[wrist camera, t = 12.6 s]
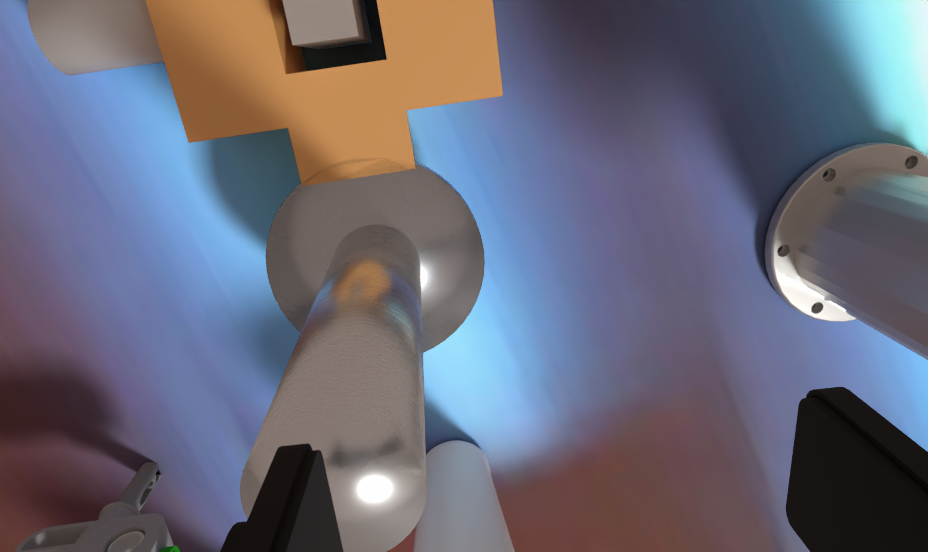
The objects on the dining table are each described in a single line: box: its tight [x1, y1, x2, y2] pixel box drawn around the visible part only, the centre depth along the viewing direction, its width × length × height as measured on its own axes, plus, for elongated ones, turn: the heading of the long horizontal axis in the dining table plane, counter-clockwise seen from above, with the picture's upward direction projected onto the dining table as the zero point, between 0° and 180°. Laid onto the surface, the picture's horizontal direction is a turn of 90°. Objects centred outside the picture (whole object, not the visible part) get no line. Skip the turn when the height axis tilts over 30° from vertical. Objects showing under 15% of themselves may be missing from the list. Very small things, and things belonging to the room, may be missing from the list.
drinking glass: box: [413, 440, 515, 552], centre depth 37 cm, size 7×7×15 cm
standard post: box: [240, 157, 485, 552], centre depth 26 cm, size 12×12×24 cm
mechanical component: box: [14, 462, 180, 552], centre depth 38 cm, size 3×10×10 cm, turn 95°
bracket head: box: [27, 0, 503, 186], centre depth 30 cm, size 22×15×6 cm
